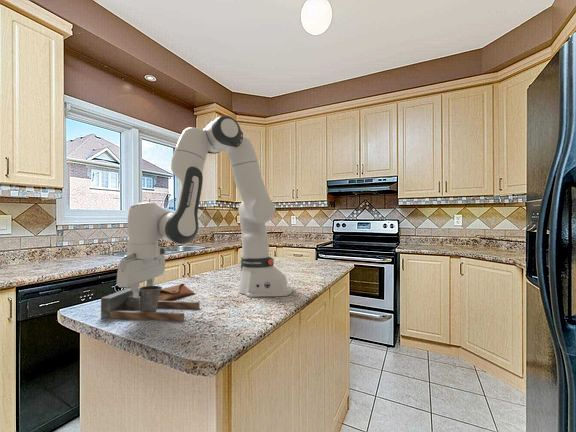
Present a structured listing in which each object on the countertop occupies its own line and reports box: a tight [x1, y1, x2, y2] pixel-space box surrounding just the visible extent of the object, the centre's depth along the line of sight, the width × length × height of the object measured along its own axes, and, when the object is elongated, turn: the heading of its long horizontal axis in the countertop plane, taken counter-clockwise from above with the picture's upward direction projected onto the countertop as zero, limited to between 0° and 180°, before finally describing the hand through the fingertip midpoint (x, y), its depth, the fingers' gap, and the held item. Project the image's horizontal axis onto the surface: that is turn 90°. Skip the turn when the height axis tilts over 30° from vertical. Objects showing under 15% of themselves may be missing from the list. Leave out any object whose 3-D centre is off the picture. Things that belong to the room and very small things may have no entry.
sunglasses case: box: [158, 283, 197, 301], centre depth 110 cm, size 18×7×7 cm
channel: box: [100, 287, 200, 322], centre depth 92 cm, size 26×12×6 cm, turn 84°
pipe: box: [125, 285, 163, 312], centre depth 93 cm, size 6×13×8 cm, turn 70°
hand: (142, 294), depth 93 cm, fingers closed on pipe, 4 cm apart
